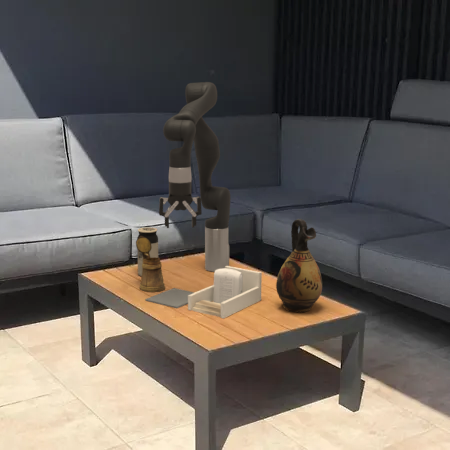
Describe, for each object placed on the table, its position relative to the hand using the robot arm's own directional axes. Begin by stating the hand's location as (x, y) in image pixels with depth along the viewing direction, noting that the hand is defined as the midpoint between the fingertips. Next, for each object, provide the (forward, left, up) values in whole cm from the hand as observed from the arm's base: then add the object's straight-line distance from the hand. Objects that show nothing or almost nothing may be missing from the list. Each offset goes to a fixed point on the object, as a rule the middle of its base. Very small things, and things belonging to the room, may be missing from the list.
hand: (180, 227), depth 243 cm
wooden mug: (-5, -19, -26) cm, 33 cm away
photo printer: (-6, +15, -26) cm, 31 cm away
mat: (0, -3, -26) cm, 26 cm away
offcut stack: (+4, +15, -26) cm, 31 cm away
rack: (-5, +15, -26) cm, 31 cm away
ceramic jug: (-17, +36, -26) cm, 48 cm away
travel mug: (-17, -30, -26) cm, 43 cm away
